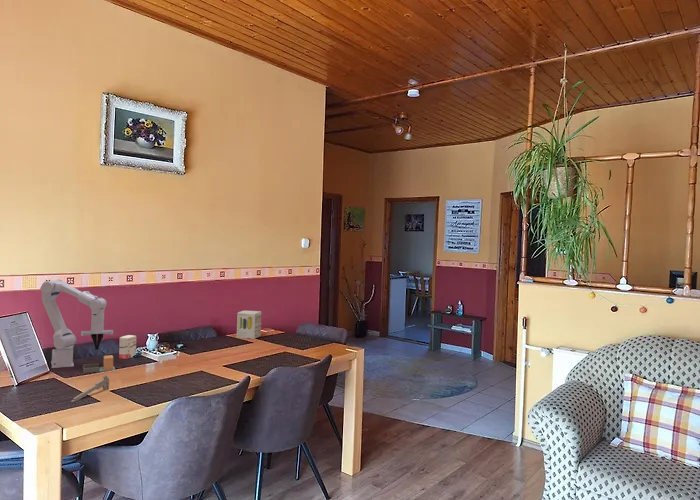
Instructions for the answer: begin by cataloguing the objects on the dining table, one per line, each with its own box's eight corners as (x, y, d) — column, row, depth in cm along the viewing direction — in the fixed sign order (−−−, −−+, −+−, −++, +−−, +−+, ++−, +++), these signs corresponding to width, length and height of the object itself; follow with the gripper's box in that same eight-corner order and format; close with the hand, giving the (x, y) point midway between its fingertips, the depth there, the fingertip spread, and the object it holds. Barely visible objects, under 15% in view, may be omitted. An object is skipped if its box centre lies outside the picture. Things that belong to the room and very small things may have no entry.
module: (103, 370, 241) (104, 358, 241) (103, 367, 246) (103, 355, 246) (112, 369, 243) (113, 357, 243) (112, 366, 248) (112, 355, 248)
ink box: (126, 359, 266) (126, 338, 266) (118, 359, 267) (118, 337, 267) (136, 356, 274) (136, 335, 274) (128, 355, 275) (129, 334, 275)
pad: (99, 372, 239) (99, 371, 239) (98, 368, 247) (98, 367, 247) (115, 370, 243) (115, 370, 243) (114, 366, 250) (114, 365, 250)
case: (83, 373, 236) (83, 368, 236) (82, 366, 248) (82, 361, 248) (99, 372, 239) (99, 367, 239) (98, 365, 252) (98, 360, 252)
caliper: (106, 388, 215) (107, 374, 215) (109, 388, 215) (109, 374, 215) (70, 402, 195) (71, 387, 195) (72, 403, 195) (73, 387, 195)
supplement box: (236, 337, 337) (236, 312, 337) (243, 334, 350) (244, 310, 350) (254, 339, 335) (255, 313, 334) (261, 335, 348) (261, 311, 347)
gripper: (81, 324, 240) (80, 351, 241) (114, 322, 247) (113, 349, 248) (81, 321, 247) (80, 348, 247) (113, 320, 254) (112, 346, 254)
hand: (96, 349), depth 248 cm, fingers closed
